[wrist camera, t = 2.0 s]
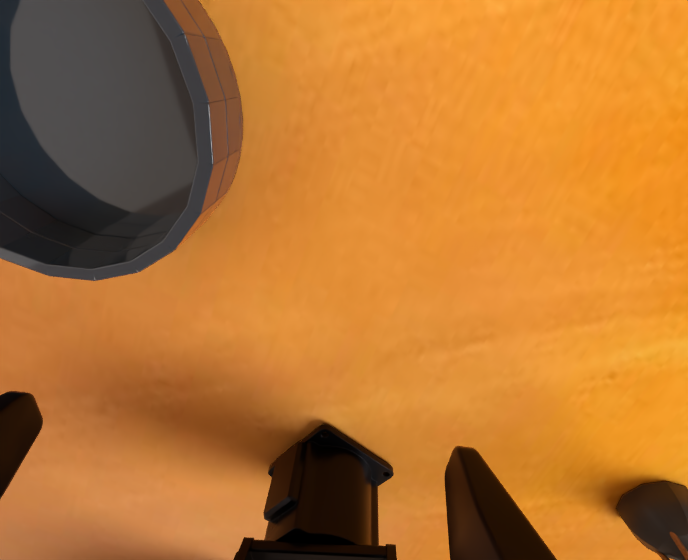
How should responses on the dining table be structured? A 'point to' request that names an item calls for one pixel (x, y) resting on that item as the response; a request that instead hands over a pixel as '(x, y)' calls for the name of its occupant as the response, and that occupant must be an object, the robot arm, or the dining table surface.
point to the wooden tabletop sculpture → (658, 518)
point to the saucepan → (111, 132)
